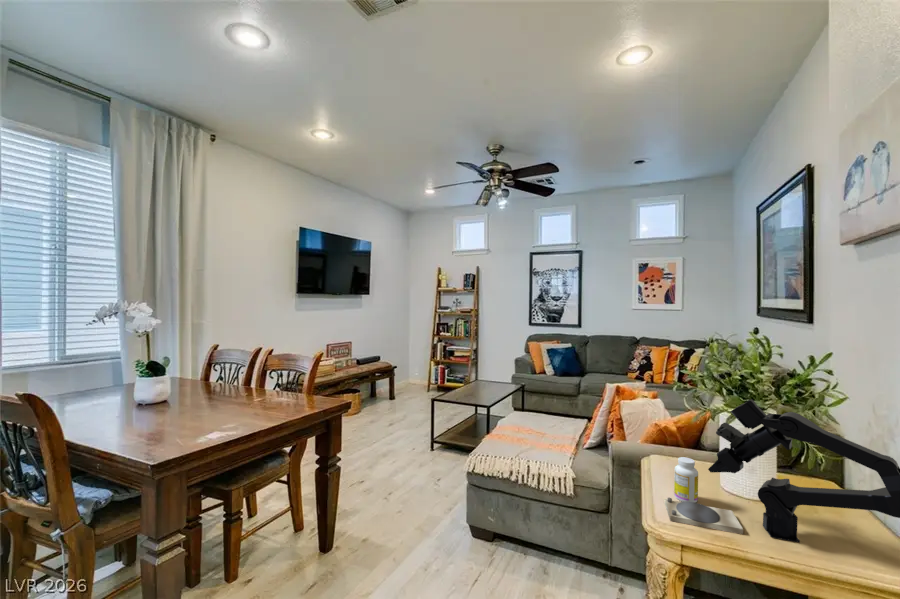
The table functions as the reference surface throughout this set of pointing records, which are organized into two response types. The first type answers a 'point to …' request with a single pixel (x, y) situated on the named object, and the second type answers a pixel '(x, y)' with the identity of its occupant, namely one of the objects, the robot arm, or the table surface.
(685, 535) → the table surface
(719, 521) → the jig board
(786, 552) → the table surface
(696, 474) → the supplement bottle
